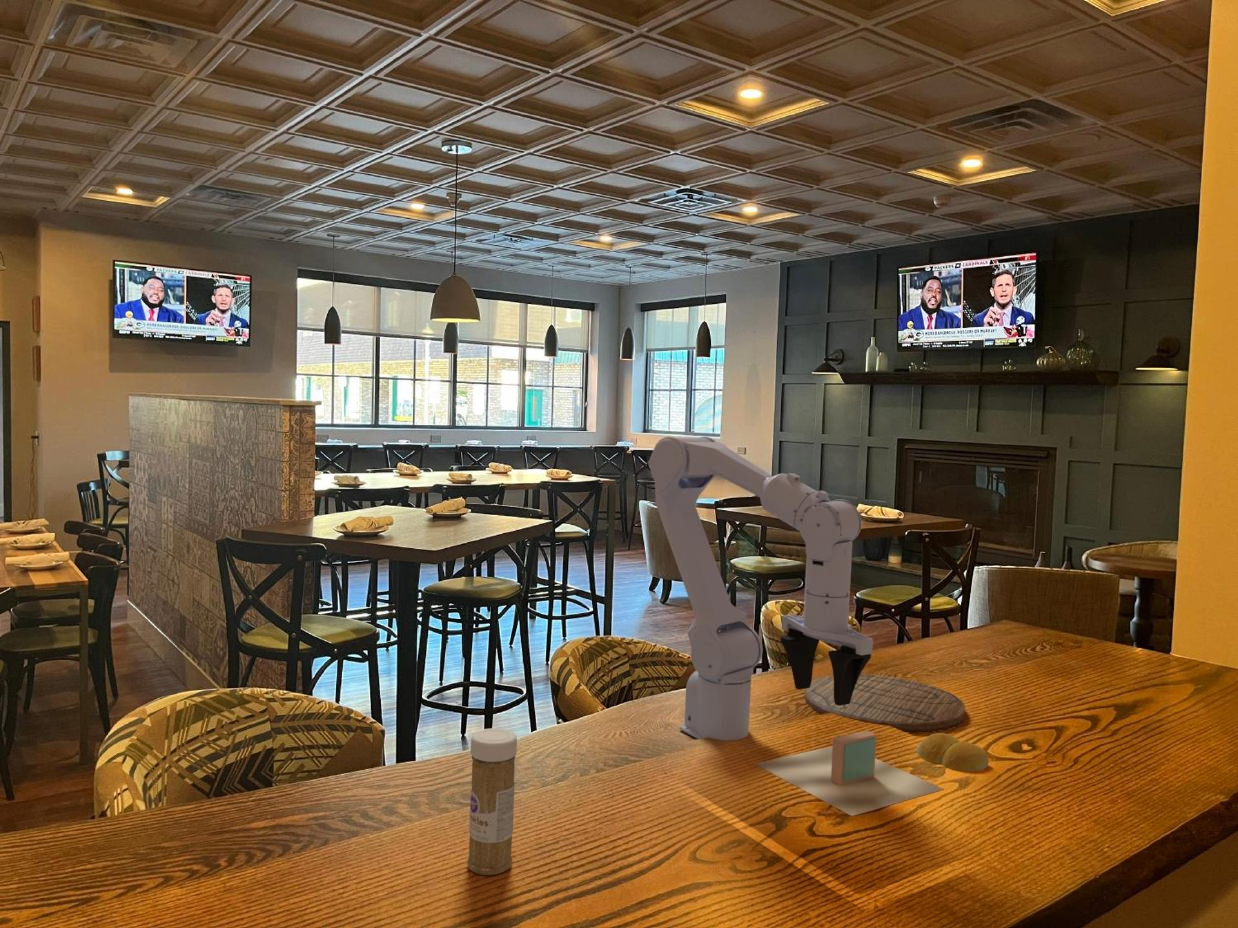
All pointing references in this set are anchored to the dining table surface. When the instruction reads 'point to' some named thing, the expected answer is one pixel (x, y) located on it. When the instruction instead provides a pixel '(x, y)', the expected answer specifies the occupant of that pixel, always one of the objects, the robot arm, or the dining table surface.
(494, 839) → the sprinkles bottle
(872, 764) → the block
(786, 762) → the board
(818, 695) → the trivet
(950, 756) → the bread roll
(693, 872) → the dining table surface
